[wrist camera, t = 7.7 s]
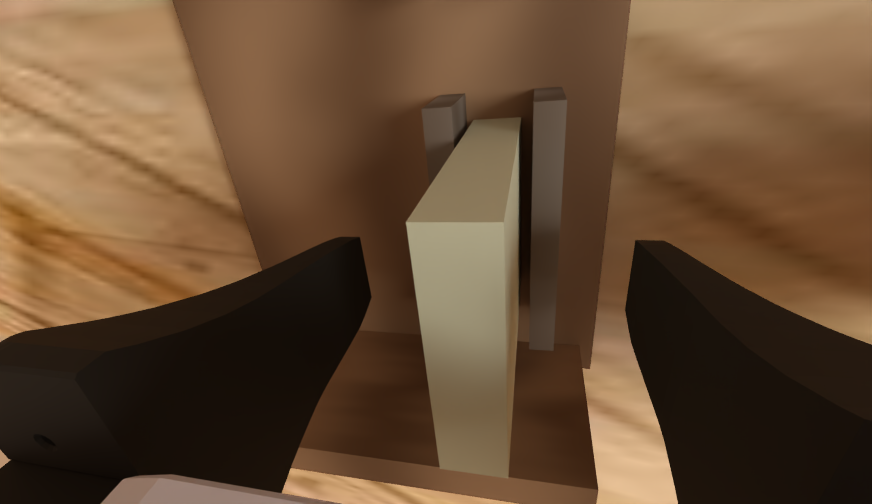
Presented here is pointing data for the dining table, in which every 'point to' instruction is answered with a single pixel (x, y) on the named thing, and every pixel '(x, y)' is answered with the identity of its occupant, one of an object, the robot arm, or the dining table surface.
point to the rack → (404, 188)
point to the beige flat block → (471, 294)
